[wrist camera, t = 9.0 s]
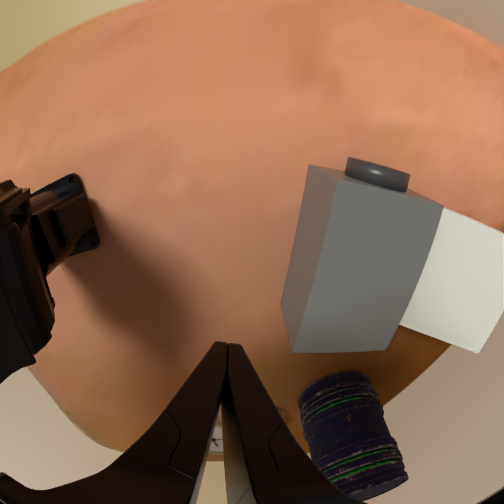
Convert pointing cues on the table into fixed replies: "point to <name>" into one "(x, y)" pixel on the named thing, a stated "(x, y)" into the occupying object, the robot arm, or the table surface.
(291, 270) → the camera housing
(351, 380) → the storage jar
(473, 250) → the door
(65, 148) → the table surface
